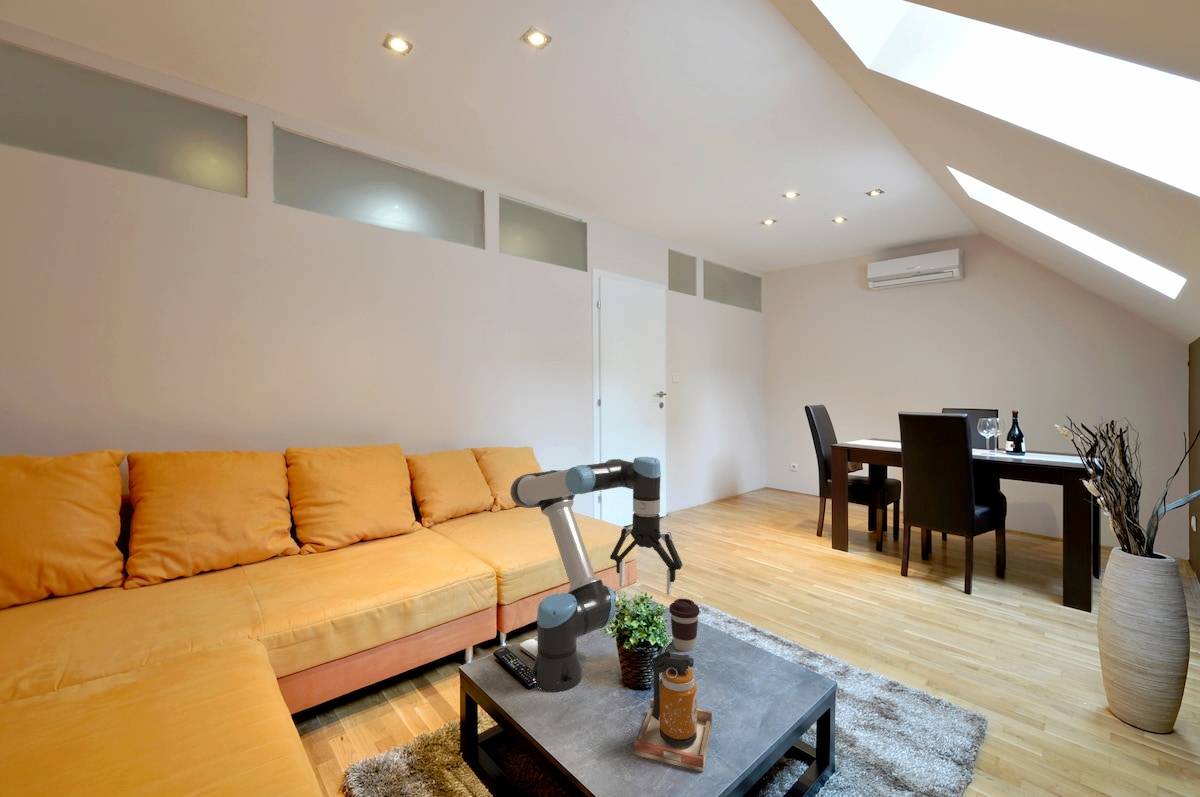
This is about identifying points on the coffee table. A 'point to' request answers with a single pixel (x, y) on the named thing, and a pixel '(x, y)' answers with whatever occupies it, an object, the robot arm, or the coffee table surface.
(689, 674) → the canister
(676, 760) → the wooden serving tray
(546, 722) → the coffee table surface
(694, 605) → the coffee cup
